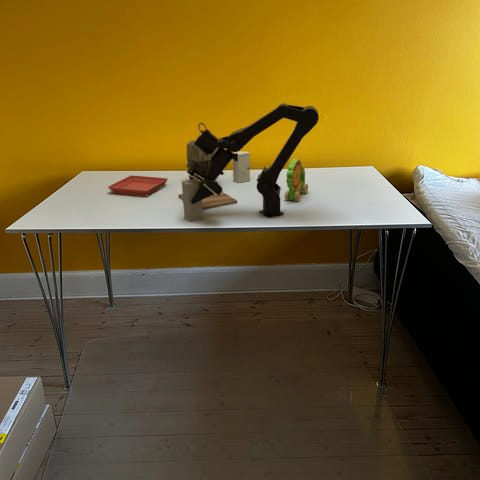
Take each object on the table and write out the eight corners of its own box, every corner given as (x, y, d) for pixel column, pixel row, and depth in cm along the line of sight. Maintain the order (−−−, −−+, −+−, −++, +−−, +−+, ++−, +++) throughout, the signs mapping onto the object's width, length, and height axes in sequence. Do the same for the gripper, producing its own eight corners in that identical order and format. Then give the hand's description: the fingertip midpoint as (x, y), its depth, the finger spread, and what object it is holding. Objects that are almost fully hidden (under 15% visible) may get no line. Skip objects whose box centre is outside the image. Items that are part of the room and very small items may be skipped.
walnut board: (237, 203, 176) (237, 200, 175) (197, 210, 169) (197, 208, 168) (215, 190, 190) (215, 187, 190) (178, 197, 183) (178, 194, 183)
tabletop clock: (222, 185, 195) (219, 124, 185) (202, 189, 191) (198, 126, 181) (206, 177, 207) (203, 119, 197) (187, 180, 203) (183, 121, 193)
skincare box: (238, 183, 198) (237, 154, 193) (232, 180, 202) (231, 152, 197) (250, 180, 201) (250, 152, 196) (244, 178, 205) (244, 150, 200)
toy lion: (295, 190, 188) (296, 152, 182) (308, 192, 186) (310, 153, 180) (281, 203, 175) (282, 162, 169) (295, 204, 173) (296, 164, 167)
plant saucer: (131, 182, 204) (130, 174, 203) (169, 185, 199) (168, 177, 198) (107, 195, 189) (106, 187, 188) (147, 199, 183) (146, 190, 182)
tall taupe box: (203, 219, 162) (201, 182, 156) (189, 221, 159) (186, 184, 154) (197, 215, 165) (195, 178, 160) (184, 217, 163) (181, 181, 158)
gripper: (190, 143, 162) (162, 179, 162) (212, 155, 147) (180, 194, 147) (212, 163, 168) (185, 197, 169) (235, 176, 153) (205, 214, 153)
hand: (188, 200), depth 159 cm, fingers open, 6 cm apart
